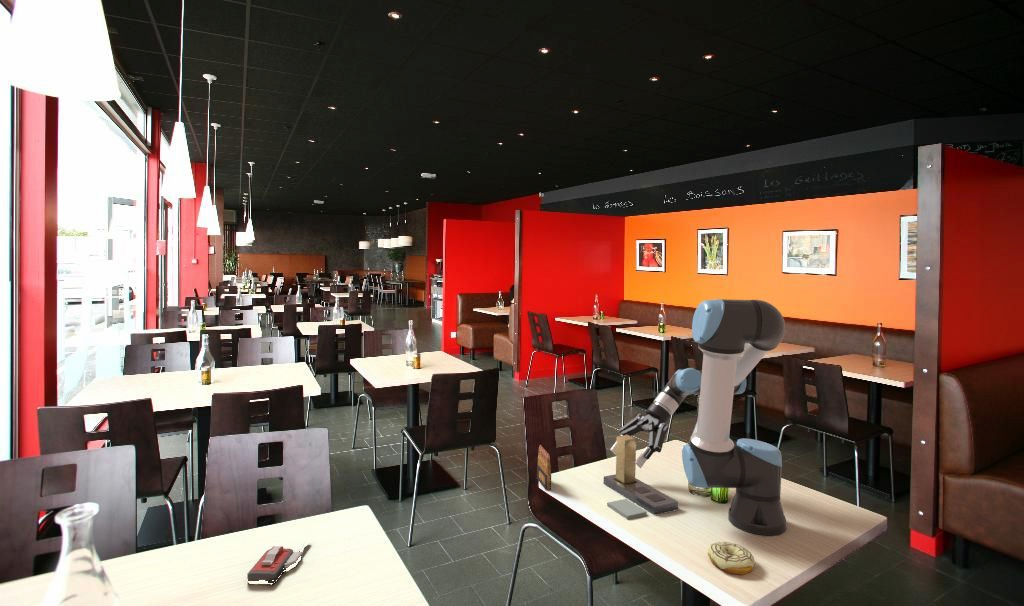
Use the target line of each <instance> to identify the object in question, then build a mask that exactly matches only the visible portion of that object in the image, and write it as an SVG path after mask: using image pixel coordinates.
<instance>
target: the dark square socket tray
mask: <svg viewBox="0 0 1024 606" xmlns="http://www.w3.org/2000/svg"><path fill="white" fill-rule="evenodd" d="M603 485H604V486H606V487H608V488H610V489H611V490H613V491H614V492H616V493H618V494H620V496H623V497H624V498H625V499H627V500H629V501H630V502H632V503H634V504H635V503H636V504H635V505H637V506H638V507H640V508H642V509H643V508H644V509H643V510H645V511H646V512H647V513H650V514H652V515H653V516H656V515H661V513H662V514H666V513H670V511H671V512H675V511H678V510H679V500H676V499H674V498H673V497H671V496H669V495H667V494H665V493H663V492H661V491H660V490H658V489H656V488H654V487H652V486H651V485H648V483H645V482H643V481H641V480H640V479H637V477H635V483H633V484H628V485H622V484H621V483H619V482H617V481H616V473H614V474H610V475H603ZM674 510H675V511H674ZM665 512H666V513H665Z"/></svg>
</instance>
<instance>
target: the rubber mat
mask: <svg viewBox="0 0 1024 606" xmlns="http://www.w3.org/2000/svg"><path fill="white" fill-rule="evenodd" d="M606 506H607V507H608V508H610V509H611V510H613V511H615V512H616V513H617V514H619V515H620V516H622V517H623V518H625V519H626V520H631V519H634V518H639V517H645V516H647V515H648V511H647V510H645V509H643V508H642V507H640V506H639V505H637V504H635V503H634V502H632V501H631V500H629V499H627V498H623V499H618V500H613V501H608V502H606ZM644 515H645V516H644Z"/></svg>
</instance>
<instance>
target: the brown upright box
mask: <svg viewBox="0 0 1024 606" xmlns="http://www.w3.org/2000/svg"><path fill="white" fill-rule="evenodd" d="M550 458H551V457H550V453H549V452H548V451H546V449H545V448H544V447H543V446H542V444H539V447H538V457H537V466H536V479H537V481H538V483H540V485H541V486H542V487H543V488H544V490H545V491H551V490H552V473H551V467H552V466H551V459H550Z"/></svg>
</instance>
